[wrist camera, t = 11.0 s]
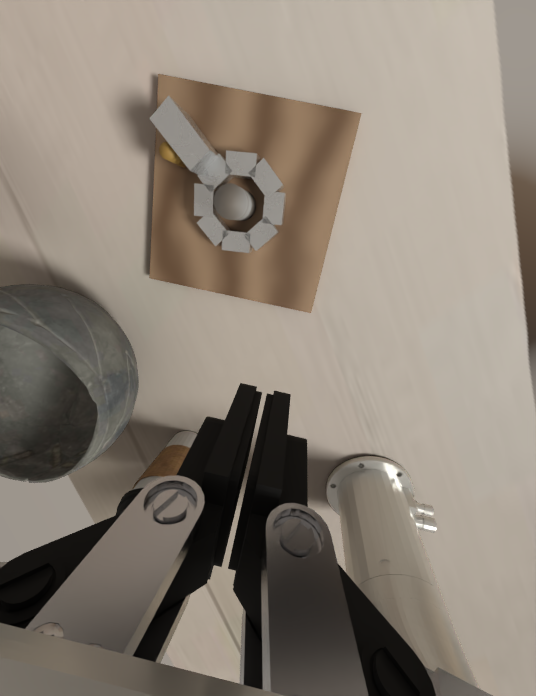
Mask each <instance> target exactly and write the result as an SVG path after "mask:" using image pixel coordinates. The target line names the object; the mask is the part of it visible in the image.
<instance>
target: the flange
mask: <svg viewBox="0 0 536 696" xmlns="http://www.w3.org/2000/svg"><path fill="white" fill-rule="evenodd" d="M149 119H150V120H151V121H152V123H153V124H154V125H155V127H156V128H157V129H158V130H159V132H160V133H161V134H162V136H163V137H164V138H165V139H166V141H167V142H168V143H169V144H170V146H171V147H172V148H173V150H174V151H175V152H176V153H177V155H178V156H179V157H180V159H181V160H182V161H183V162H184V164H185V165H186V166H187V168H188V169H189V170H190V171H192V172H194V173H196V174H198V175H197V176H198V177H199V179H200V180H201V181H202V183H203V184H197V183H194V216H203V217H202V218H201V219H200V220H199V221H198V222H197V224H198V225H199V227H200V228H201V229H202V230H203V232H204V233H205V234H206V235H207V237H208V238H209V239H210V240H211V241H212V243H213V244H214V245H215V246H219V245H221V244H222V250H227V251H235V252H244V253H251V252H252V248H254V249H255V251H257V250H259V249H260V248H261V247H262V246H263V245H265V244H266V243H267V242H268V241H269V240H270V239H272V238H273V237H274V236H275V235H276V234H277V233H279V231H278V229H277V228H276V227H275V225H283V219H284V210H285V201H286V193H282V192H279V191H280V190H282V189H283V188H284V185H283V184H282V182H281V181H280V180H279V178H278V177H277V175H276V174H275V173H274V171H273V170H272V168H271V167H270V166H269V164H268V163H267V161H266V160H265V159H264V158H263V159H262V160H261V161H260V157H259V156H258V154H257V153H247V152H237V151H227V150H226V159H225V158H224V157H223V156H222V155H221V154H218V153H217V152H216V150H215V149H214V148H213V146H212V145H211V144H210V142H209V141H208V140H207V138H206V137H205V135H204V134H203V133H202V131H201V130H200V129H199V127H198V126H197V125H196V123H195V122H194V121H193V119H192V118H191V117H190V115H189V114H188V113H187V112H186V111H184V110H183V109H182V108H181V107H180V106H179V105H178V104H177V103H176V102H175V101H174V100H173V99H172V98H171V97H170V96H168V97H167V98H166V99H165V100H164V102H163V103H162V104H161V105H160V106H159V108H158V109H157V110H156V111H155V112H154V114H153V115H152V116H151V117H150V118H149ZM259 161H260V162H259ZM233 177H236V178H245V179H253V180H254V182H255V183H256V184H257V186H258V187H259V188H260V190H261V191H262V192H263V194H264V195H265V197H264V208H263V219H262V220H261V221H259V222H258V223H257V224H256V225H255V226H254V227H253V228H252V229H250V230H249V231H248V232H242V231H233V230H230V229H229V227H228V226H227V225H226V224H225V222H224V221H223V220H222V218H221V217H220V216H219V215H218V212H217V211H216V209H215V206H214V196H215V193H216V191H217V190H218V188H219V187H220V186H222V185H224V184H227V183H228V182H229V181H230V180H231V179H232V178H233Z"/></svg>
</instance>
